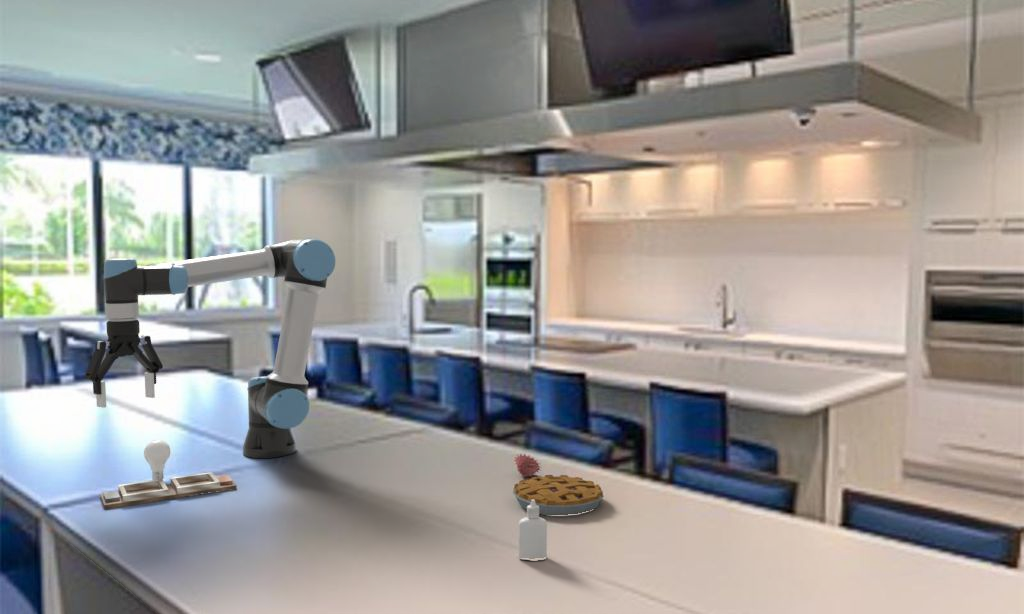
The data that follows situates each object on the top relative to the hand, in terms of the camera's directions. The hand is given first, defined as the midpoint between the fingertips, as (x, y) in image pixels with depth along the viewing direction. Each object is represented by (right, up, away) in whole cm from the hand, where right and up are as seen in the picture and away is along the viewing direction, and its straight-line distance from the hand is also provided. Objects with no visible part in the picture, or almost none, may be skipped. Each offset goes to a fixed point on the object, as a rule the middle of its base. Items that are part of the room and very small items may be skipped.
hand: (126, 402), depth 202 cm
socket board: (+13, -22, -5) cm, 26 cm away
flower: (+103, -22, +12) cm, 106 cm away
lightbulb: (+6, -22, +5) cm, 23 cm away
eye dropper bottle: (+103, -26, -44) cm, 115 cm away
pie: (+110, -24, -10) cm, 113 cm away
